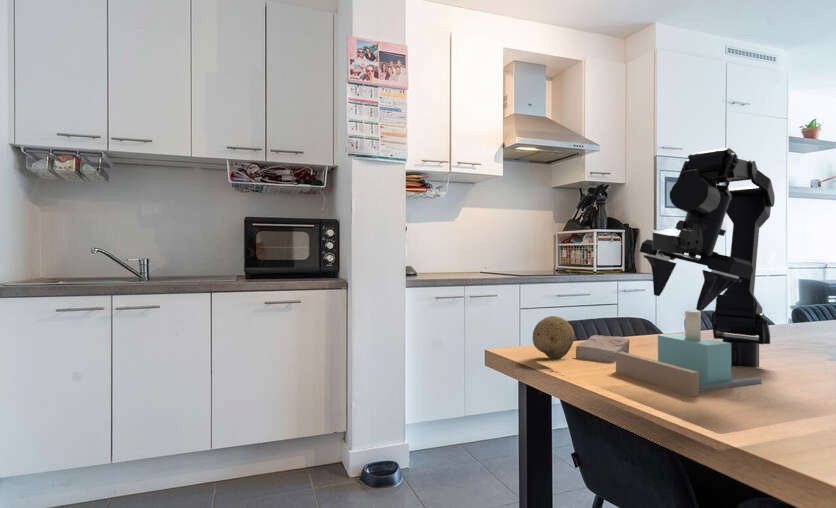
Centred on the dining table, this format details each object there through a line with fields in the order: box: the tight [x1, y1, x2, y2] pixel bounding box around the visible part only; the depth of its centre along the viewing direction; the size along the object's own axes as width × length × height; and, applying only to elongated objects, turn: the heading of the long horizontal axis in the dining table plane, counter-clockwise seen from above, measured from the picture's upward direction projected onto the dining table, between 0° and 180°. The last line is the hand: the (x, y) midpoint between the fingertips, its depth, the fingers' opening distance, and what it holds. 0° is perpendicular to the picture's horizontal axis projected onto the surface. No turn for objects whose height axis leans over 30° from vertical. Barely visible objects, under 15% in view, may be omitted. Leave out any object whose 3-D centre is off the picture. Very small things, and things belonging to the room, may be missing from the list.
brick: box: [575, 334, 631, 363], centre depth 101 cm, size 17×8×5 cm, turn 145°
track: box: [615, 352, 763, 398], centre depth 81 cm, size 19×16×5 cm
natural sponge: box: [532, 315, 575, 361], centre depth 101 cm, size 9×9×10 cm
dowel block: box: [657, 310, 732, 384], centre depth 81 cm, size 6×10×12 cm, turn 19°
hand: (676, 302), depth 82 cm, fingers open, 9 cm apart
